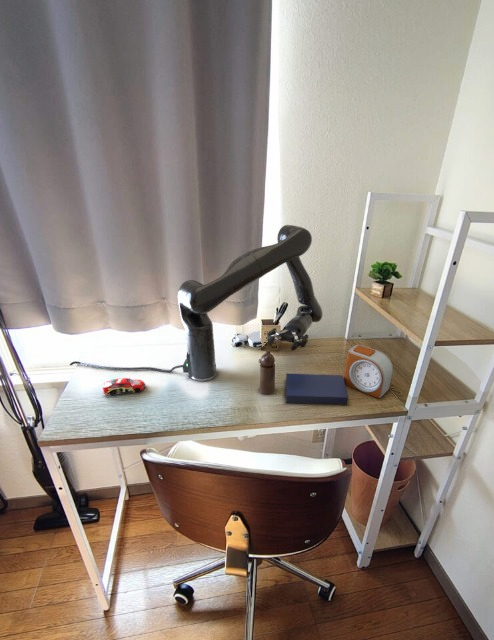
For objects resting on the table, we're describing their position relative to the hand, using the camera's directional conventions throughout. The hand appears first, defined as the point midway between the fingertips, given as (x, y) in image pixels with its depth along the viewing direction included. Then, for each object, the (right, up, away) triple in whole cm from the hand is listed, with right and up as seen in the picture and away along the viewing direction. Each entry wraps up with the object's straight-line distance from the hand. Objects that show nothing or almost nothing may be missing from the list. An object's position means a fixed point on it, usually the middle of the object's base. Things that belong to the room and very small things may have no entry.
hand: (280, 345), depth 129 cm
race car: (-52, -16, -5) cm, 55 cm away
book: (+12, -16, -2) cm, 20 cm away
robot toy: (-13, +4, +26) cm, 30 cm away
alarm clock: (+30, -14, +3) cm, 33 cm away
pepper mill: (-5, -16, -2) cm, 16 cm away
